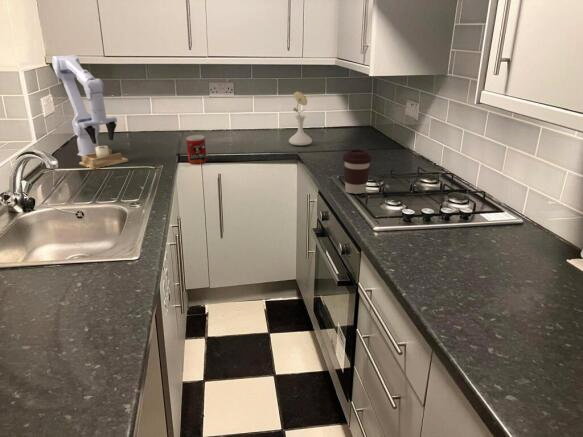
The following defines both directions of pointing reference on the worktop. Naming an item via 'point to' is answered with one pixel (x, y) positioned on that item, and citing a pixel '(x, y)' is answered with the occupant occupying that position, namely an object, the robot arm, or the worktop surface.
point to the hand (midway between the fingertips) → (103, 141)
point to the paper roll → (102, 151)
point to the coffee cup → (356, 170)
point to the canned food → (196, 149)
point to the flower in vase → (300, 123)
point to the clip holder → (102, 160)
